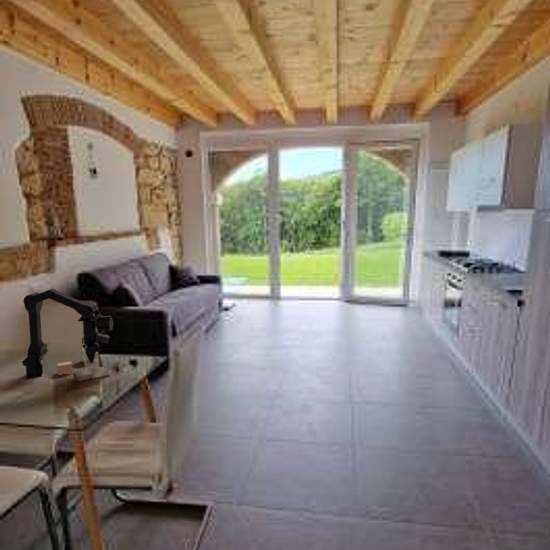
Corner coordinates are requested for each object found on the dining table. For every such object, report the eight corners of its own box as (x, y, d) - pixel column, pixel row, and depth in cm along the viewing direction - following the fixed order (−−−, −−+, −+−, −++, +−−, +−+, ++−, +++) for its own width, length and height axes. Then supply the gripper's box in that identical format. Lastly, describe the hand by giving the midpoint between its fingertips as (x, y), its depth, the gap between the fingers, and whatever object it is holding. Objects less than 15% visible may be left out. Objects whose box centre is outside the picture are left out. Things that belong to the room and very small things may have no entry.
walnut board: (77, 381, 191) (77, 380, 190) (74, 373, 201) (74, 371, 201) (109, 376, 198) (109, 374, 198) (105, 368, 208) (105, 366, 208)
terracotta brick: (58, 375, 197) (57, 366, 196) (58, 373, 201) (57, 363, 200) (72, 373, 200) (71, 363, 200) (71, 370, 204) (71, 361, 203)
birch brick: (84, 365, 195) (84, 355, 194) (83, 363, 199) (83, 353, 198) (98, 363, 198) (98, 353, 197) (97, 361, 202) (96, 351, 201)
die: (78, 367, 210) (90, 353, 209) (70, 356, 213) (81, 341, 213) (91, 368, 217) (102, 354, 216) (83, 357, 221) (94, 343, 220)
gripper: (111, 332, 192) (112, 364, 194) (104, 323, 208) (105, 352, 210) (85, 336, 186) (86, 369, 189) (80, 325, 202) (81, 356, 205)
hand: (91, 361), depth 198 cm, fingers closed on birch brick, 4 cm apart
